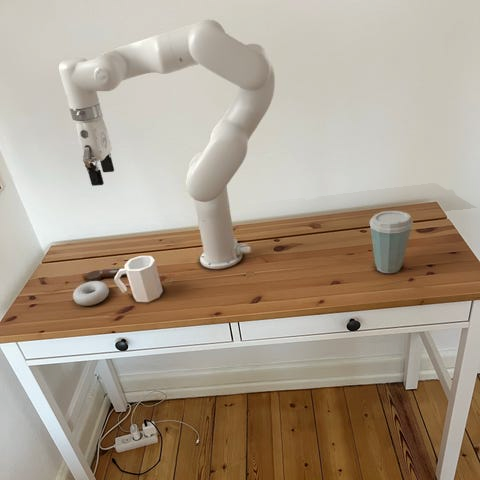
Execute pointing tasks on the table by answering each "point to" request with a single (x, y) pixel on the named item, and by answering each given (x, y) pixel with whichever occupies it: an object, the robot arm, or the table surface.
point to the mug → (141, 278)
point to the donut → (90, 293)
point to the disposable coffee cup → (390, 239)
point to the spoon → (103, 274)
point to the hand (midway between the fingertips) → (103, 178)
